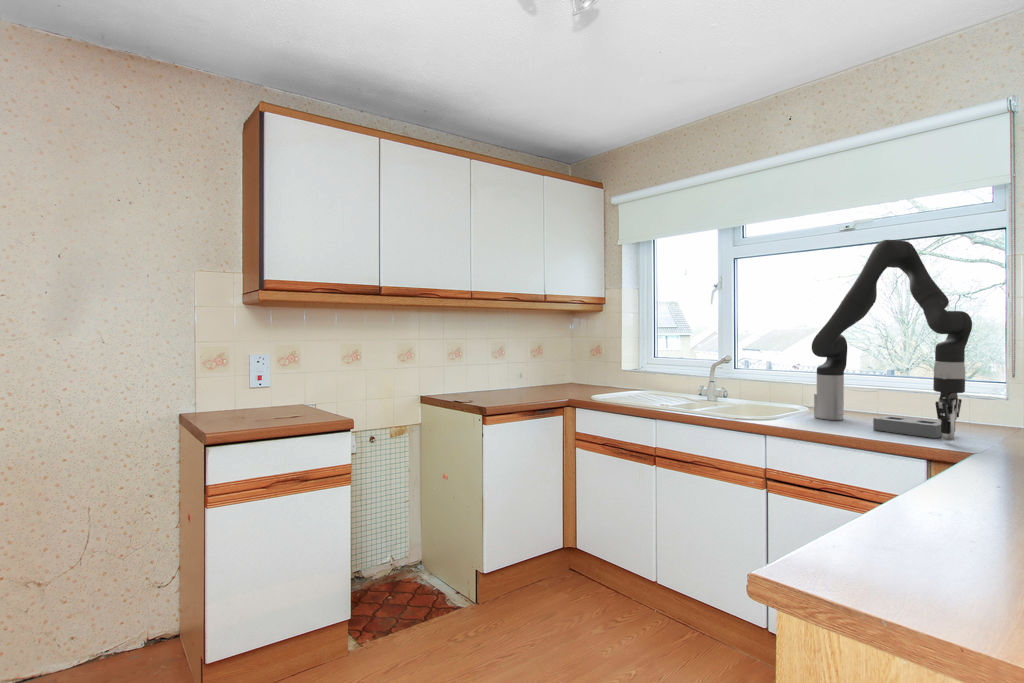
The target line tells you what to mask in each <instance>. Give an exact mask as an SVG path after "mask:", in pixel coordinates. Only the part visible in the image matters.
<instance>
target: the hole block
mask: <svg viewBox="0 0 1024 683" xmlns="http://www.w3.org/2000/svg"><path fill="white" fill-rule="evenodd" d="M872 420H873V422H872V423H873V425H872V426H873V430H874V431H879V432H886V433H894V434H902V435H909V436H917V437H924V438H930V439H937V438H938V439H939V438H942V433H941V421H940V420H934V419H933V420H931V419H922V418H915V417H907V416H906V417H904V416H897V415H888V414H887V415H883V416H877V417H874V418H873V419H872Z"/></svg>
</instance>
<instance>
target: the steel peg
mask: <svg viewBox="0 0 1024 683" xmlns="http://www.w3.org/2000/svg"><path fill="white" fill-rule="evenodd" d="M948 411H950V410H948ZM944 416H945V414H944ZM954 428H955V429H956V420H955V410H954V413H953V414H952V415H951V433H950V434H945V433H942V437H941V440H944V441H955V432H954Z"/></svg>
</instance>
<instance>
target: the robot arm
mask: <svg viewBox="0 0 1024 683" xmlns="http://www.w3.org/2000/svg"><path fill="white" fill-rule="evenodd" d="M888 268H894V269H895V268H897V269H899V270H901V271H902V272H903V273H904V274H905V275H906V276H907V278H908V280H909V291H910V293H911V296H912V298H913V299H914V300H915V302H916V303H917V304H918V305H919V307H920V308H921V310H922V312H923V314H924V317H925V320H926V322H927V326H928V327H929V328H930V329H931V331H932V332H934V333H936V334H938V335H947V336H946V338H945V340H944V341H942V342H938V343H937V344H936V345H935V347H934V348H935V349H934V366H933V387H932V388H933V391H934V392H935V393H940V394H939V395H940V396H939V397H938V401H935V403H934V404H935V410H936V415H937V419H938V420H939V421H941V433H945V434H950V433H951V415H952V414H953V413H954V410H955V421H957V419H958V418H960V412H961V407H962V402H963V400H962V399H961V398H958V397H959V396H958V394H963V393H965V392H966V365H965V358H966V357H965V355H966V354H965V351H966V350H965V349H966V346H967V343H968V341H969V338H970V335H971V333H972V329H973V321H972V317H971V316H970V315H969V313H967V312H965V311H963V310H962V311H961V310H946V308H947V307H948V306H949V303H950V300H949V298H948V297H947V295H946V294H945V293H944V291H943V290H942V289H941V288H940V287H939V285H937V283H936V282H935V281H934V280H933V278H932V277H931V275H930V274H929V271H928V270H927V269H926V266H925V265H924V263H923V261H922V259H921V257H920V255H919V253H918V251H917V249H916V248H915V246H913V244H912V243H911V242H909V241H906V240H899V239H883V240H881V241H879V242H877V244H876V245H875V246H874V248H873V249H872V251H871V253H870V254H869V256H868V258H867V260H866V262H865V264H864V266H863V268H862V269H861V272H860V273H859V274H858V276H857V278H856V280H854V281H855V282H854V283H853V284H852V286H851V288H850V289H849V290H848V291H847V293H846V294H845V296H844V297H843V298H842V300H841V302H840V304H839V305H838V307H837V308H836V310H835V311H834V312H833V314H832V315H831V317H830V318H829V319H828V321H827V322H826V323H825V324H824V326H823V327H822V328H821V329H820V330H819V332H818V333H816V335H815V337H814V338H813V340H812V342H811V351H812V354H813V355H815V356H816V357H820V358H826V360H825V362H823V364H820V365H818V367H817V368H816V392H815V393H814V394H813V417H814V418H817V419H821V420H831V421H840V420H841V421H842V420H844V414H845V413H844V405H845V404H844V400H845V399H844V398H845V396H844V394H845V380H844V379H845V378H844V377H845V371H846V367H847V360H848V343H847V339H846V337H845V336H844V335H843V333H844V332H845V331H846V330H848V329H849V328H851V327H852V326H854V325H856V324H857V323H858V322H859V321H861V320H862V319H864V318H865V317H866V316H867V314H868V313H869V312H870V310H871V309H872V307H873V306H874V305H875V303H876V301H877V292H878V290H877V289H878V288H877V283H878V281H879V278H880V277H881V276H882V274H883V273H884V272H885V270H886V269H888ZM948 410H950V411H948ZM944 414H945V416H944ZM955 432H956V427H955V428H954V433H955Z"/></svg>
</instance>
